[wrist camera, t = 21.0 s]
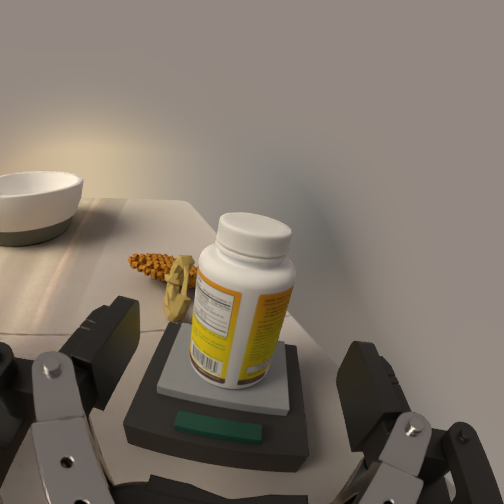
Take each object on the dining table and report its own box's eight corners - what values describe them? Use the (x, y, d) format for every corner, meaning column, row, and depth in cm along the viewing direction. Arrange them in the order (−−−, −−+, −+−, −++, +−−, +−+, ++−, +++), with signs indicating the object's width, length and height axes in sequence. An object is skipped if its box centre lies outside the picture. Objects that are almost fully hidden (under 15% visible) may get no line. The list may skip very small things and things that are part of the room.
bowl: (94, 213, 53) (97, 172, 50) (58, 259, 33) (56, 199, 30) (8, 208, 46) (8, 170, 43) (-48, 248, 26) (-54, 196, 23)
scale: (288, 366, 25) (299, 338, 24) (296, 472, 15) (314, 450, 13) (168, 344, 24) (169, 314, 23) (127, 443, 14) (120, 416, 13)
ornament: (135, 225, 36) (137, 247, 22) (208, 246, 40) (250, 276, 27) (122, 274, 36) (120, 322, 23) (194, 291, 41) (228, 341, 27)
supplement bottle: (266, 345, 22) (301, 219, 18) (267, 398, 17) (316, 251, 13) (196, 332, 22) (213, 202, 18) (180, 383, 17) (194, 227, 13)
